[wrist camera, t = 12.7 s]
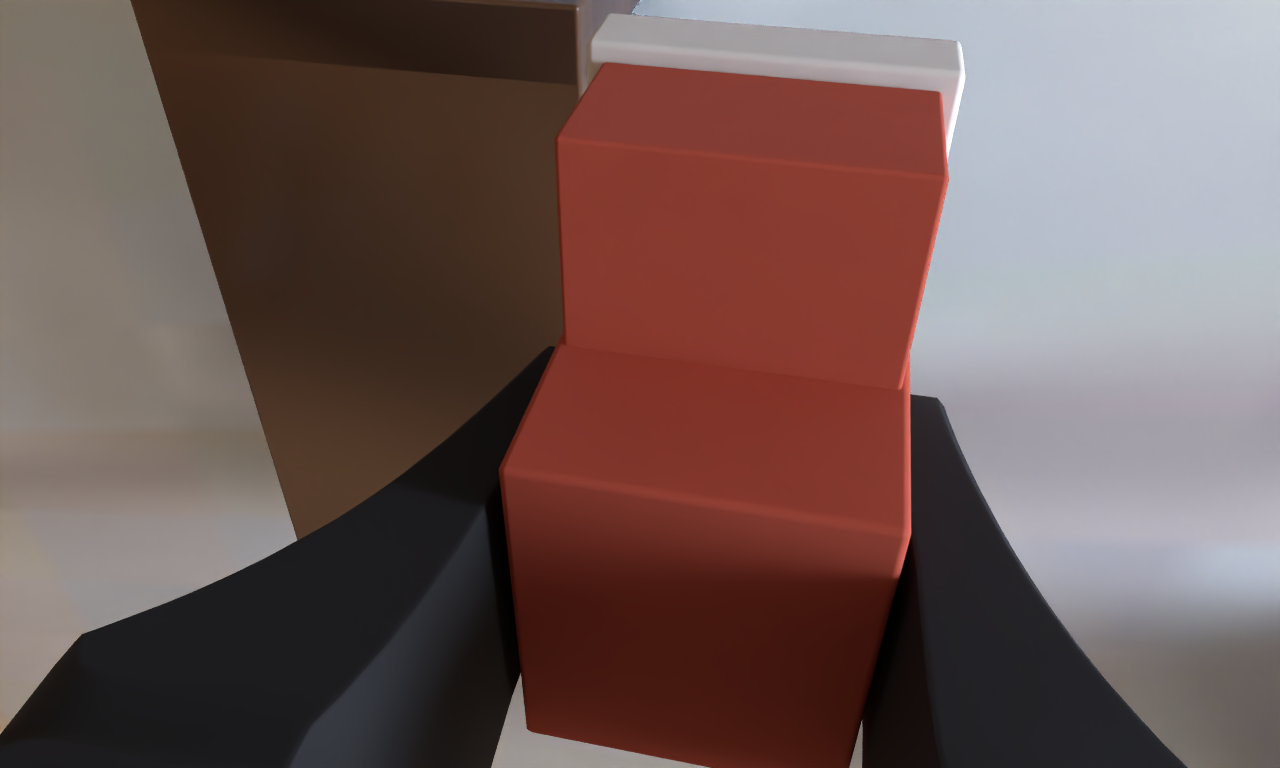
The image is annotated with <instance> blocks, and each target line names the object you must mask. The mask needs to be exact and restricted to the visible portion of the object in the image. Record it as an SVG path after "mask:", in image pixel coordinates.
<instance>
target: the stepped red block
mask: <svg viewBox="0 0 1280 768" xmlns="http://www.w3.org/2000/svg"><path fill="white" fill-rule="evenodd" d="M964 82H965V70H964V63H963V55H962V48H961V43H959V42H957V41H952V40H939V39H927V38H914V37H902V36H889V35H877V34H864V33H852V32H839V31H827V30H814V29H802V28H789V27H777V26H764V25H752V24H739V23H727V22H714V21H702V20H689V19H677V18H664V17H652V16H639V15H627V14H614V13H611V14H608V15H606V16H605V18H604V19H603V20H602V22H601V23H600V25H599V26H598V27H597V29H596V30H595V32H594V33H593V34H592V36H591V37H590V39H589V40H588V43H587V89H586V90H585V92H584V94H583V95H582V97H581V98H580V100H579V101H578V103H577V104H576V106H575V107H574V109H573V111H572V112H571V114H570V115H569V117H568V118H567V120H566V121H565V123H564V124H563V126H562V127H561V129H560V131H559V132H558V134H557V135H556V137H555V139H554V146H555V167H556V188H557V209H558V231H559V252H560V273H561V294H562V315H563V332H562V334H561V337H560V339H559V341H558V343H557V345H556V347H555V349H554V352H553V354H552V356H551V358H550V360H549V362H548V364H547V367H546V369H545V371H544V373H543V375H542V377H541V379H540V382H539V384H538V386H537V388H536V390H535V392H534V394H533V397H532V399H531V401H530V403H529V405H528V407H527V409H526V412H525V414H524V416H523V418H522V420H521V422H520V425H519V427H518V429H517V431H516V433H515V435H514V437H513V440H512V442H511V444H510V446H509V448H508V450H507V452H506V455H505V457H504V459H503V461H502V463H501V465H500V467H499V477H500V486H501V495H502V504H503V513H504V523H505V532H506V541H507V550H508V559H509V568H510V578H511V587H512V596H513V605H514V614H515V623H516V633H517V642H518V651H519V660H520V669H521V678H522V687H523V697H524V706H525V715H526V724H527V729H528V730H529V731H531V732H534V733H539V734H544V735H549V736H554V737H559V738H564V739H569V740H574V741H579V742H584V743H589V744H594V745H599V746H605V747H610V748H615V749H620V750H625V751H630V752H635V753H640V754H645V755H650V756H655V757H660V758H665V759H670V760H675V761H680V762H685V763H690V764H696V765H701V766H706V767H711V768H849V766H850V763H851V759H852V755H853V751H854V748H855V744H856V740H857V736H858V732H859V729H860V725H861V721H862V717H863V714H864V710H865V706H866V702H867V699H868V695H869V691H870V687H871V683H872V680H873V676H874V672H875V668H876V665H877V661H878V657H879V653H880V649H881V646H882V642H883V638H884V634H885V631H886V627H887V623H888V619H889V616H890V612H891V608H892V604H893V600H894V597H895V593H896V589H897V585H898V582H899V578H900V574H901V570H902V567H903V563H904V559H905V555H906V551H907V548H908V544H909V540H910V536H911V435H910V349H911V345H912V341H913V336H914V332H915V327H916V323H917V318H918V314H919V310H920V305H921V301H922V296H923V292H924V287H925V283H926V279H927V274H928V270H929V265H930V261H931V257H932V252H933V248H934V243H935V239H936V234H937V230H938V226H939V221H940V217H941V212H942V208H943V203H944V199H945V195H946V190H947V186H948V181H949V177H948V164H947V158H948V154H949V149H950V145H951V140H952V136H953V131H954V127H955V122H956V118H957V113H958V109H959V104H960V100H961V95H962V91H963V86H964Z"/></svg>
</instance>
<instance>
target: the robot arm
mask: <svg viewBox="0 0 1280 768" xmlns="http://www.w3.org/2000/svg"><path fill="white" fill-rule="evenodd" d="M554 349H555V347H554V346H549V347H547V348H546V349H544V350H543V351H542V352H541V353H540V354H539V355H538V356H536V357H535V358H534V359H533V360H532V361H531V362H530V363H529V364H528V365H527V366H526V367H525V368H524V369H523V370H522V371H521V372H520V373H519V374H518V375H517V376H516V377H515V378H513V379H512V380H511V381H510V382H509V383H508V384H507V385H506V386H505V387H504V388H503V389H502V390H501V391H500V392H499V393H497V394H496V395H495V396H494V397H493V398H492V399H491V400H490V401H489V402H488V403H487V404H486V405H484V406H483V407H482V408H481V409H480V410H479V411H478V412H477V413H475V414H474V415H473V416H472V417H471V418H470V419H469V420H467V421H466V422H465V423H464V424H463V425H462V426H461V427H459V428H458V429H457V430H456V431H455V432H454V433H453V434H451V435H450V436H449V437H448V438H447V439H445V440H444V441H443V442H442V443H441V444H439V445H438V446H437V447H436V448H434V449H433V450H432V451H430V452H429V453H428V454H427V455H425V456H424V457H423V458H422V459H420V460H419V461H418V462H416V463H415V464H414V465H413V466H411V467H410V468H409V469H408V470H406V471H405V472H404V473H402V474H401V475H400V476H398V477H397V478H396V479H394V480H393V481H392V482H390V483H389V484H387V485H386V486H385V487H383V488H382V489H380V490H379V491H378V492H376V493H375V494H373V495H372V496H370V497H369V498H367V499H366V500H364V501H363V502H361V503H360V504H358V505H357V506H355V507H354V508H352V509H351V510H349V511H348V512H346V513H345V514H343V515H341V516H340V517H338V518H337V519H335V520H333V521H332V522H330V523H328V524H326V525H325V526H323V527H321V528H319V529H317V530H316V531H314V532H312V533H310V534H308V535H307V536H305V537H303V538H301V539H299V540H297V541H296V542H294V543H292V544H290V545H288V546H287V547H285V548H283V549H281V550H279V551H278V552H276V553H274V554H272V555H270V556H269V557H267V558H265V559H263V560H261V561H259V562H257V563H254V564H252V565H250V566H248V567H246V568H244V569H242V570H240V571H238V572H236V573H234V574H232V575H230V576H227V577H225V578H223V579H221V580H219V581H216V582H214V583H212V584H210V585H207V586H205V587H203V588H201V589H198V590H196V591H194V592H192V593H189V594H187V595H184V596H182V597H180V598H177V599H175V600H172V601H170V602H167V603H165V604H162V605H160V606H157V607H154V608H152V609H149V610H146V611H144V612H141V613H138V614H136V615H133V616H130V617H128V618H125V619H122V620H120V621H117V622H115V623H112V624H109V625H107V626H104V627H101V628H98V629H96V630H93V631H90V632H87V633H84V634H82V635H81V636H80V637H79V638H78V639H77V640H76V641H75V642H74V644H73V645H72V646H71V647H70V648H69V649H68V650H67V652H66V653H65V654H64V655H63V656H62V657H61V659H60V660H59V661H58V662H57V663H56V664H55V666H54V667H53V668H52V669H51V671H50V672H49V673H48V674H47V676H46V677H45V678H44V680H43V681H42V682H41V683H40V685H39V686H38V687H37V689H36V690H35V691H34V692H33V694H32V695H31V696H30V697H29V699H28V700H27V701H26V703H25V704H24V705H23V706H22V708H21V709H20V710H19V711H18V713H17V714H16V715H15V717H14V718H13V719H12V720H11V722H10V723H9V724H8V725H7V727H6V728H5V729H4V731H3V732H2V733H1V734H0V768H491V766H492V762H493V759H494V755H495V752H496V749H497V745H498V742H499V739H500V735H501V732H502V728H503V725H504V722H505V718H506V715H507V712H508V708H509V705H510V702H511V698H512V695H513V692H514V690H515V687H516V684H517V681H518V679H519V676H520V673H521V669H520V660H519V651H518V642H517V633H516V623H515V614H514V605H513V596H512V587H511V578H510V568H509V559H508V550H507V541H506V532H505V523H504V513H503V504H502V495H501V486H500V477H499V467H500V465H501V463H502V461H503V459H504V457H505V455H506V452H507V450H508V448H509V446H510V444H511V442H512V440H513V437H514V435H515V433H516V431H517V429H518V427H519V425H520V422H521V420H522V418H523V416H524V414H525V412H526V409H527V407H528V405H529V403H530V401H531V399H532V397H533V394H534V392H535V390H536V388H537V386H538V384H539V382H540V379H541V377H542V375H543V373H544V371H545V369H546V367H547V364H548V362H549V360H550V358H551V356H552V354H553V352H554ZM910 435H911V536H910V540H909V544H908V548H907V551H906V555H905V559H904V563H903V567H902V570H901V574H900V578H899V582H898V585H897V589H896V593H895V597H894V600H893V604H892V608H891V612H890V616H889V619H888V623H887V627H886V631H885V634H884V638H883V642H882V646H881V649H880V653H879V657H878V661H877V665H876V668H875V672H874V676H873V680H872V683H871V687H870V691H869V695H868V699H867V702H866V706H865V710H864V714H863V717H862V728H863V742H862V768H1187V767H1186V766H1185V765H1184V764H1183V763H1182V762H1181V761H1180V760H1179V759H1178V758H1177V757H1176V756H1175V755H1174V754H1173V753H1172V752H1171V751H1170V750H1169V749H1168V748H1167V747H1166V746H1165V745H1164V744H1163V743H1162V742H1161V741H1160V739H1159V738H1158V737H1157V736H1156V735H1155V734H1154V733H1153V732H1152V731H1151V730H1150V728H1149V727H1148V726H1147V725H1146V724H1145V723H1144V722H1143V721H1142V720H1141V718H1140V717H1139V716H1138V715H1137V714H1136V713H1135V712H1134V711H1133V710H1132V709H1131V707H1130V706H1129V705H1128V704H1127V703H1126V702H1125V701H1124V700H1123V699H1122V697H1121V696H1120V695H1119V694H1118V693H1117V692H1116V691H1115V690H1114V689H1113V687H1112V686H1111V685H1110V684H1109V683H1108V682H1107V681H1106V679H1105V678H1104V677H1103V676H1102V674H1101V673H1100V672H1099V671H1098V669H1097V668H1096V667H1095V666H1094V664H1093V663H1092V662H1091V661H1090V659H1089V658H1088V657H1087V656H1086V654H1085V653H1084V652H1083V651H1082V649H1081V648H1080V647H1079V646H1078V644H1077V643H1076V642H1075V640H1074V639H1073V638H1072V636H1071V635H1070V634H1069V632H1068V631H1067V630H1066V628H1065V627H1064V626H1063V624H1062V623H1061V621H1060V620H1059V619H1058V617H1057V616H1056V615H1055V613H1054V612H1053V610H1052V609H1051V608H1050V606H1049V605H1048V603H1047V602H1046V600H1045V599H1044V597H1043V596H1042V594H1041V593H1040V591H1039V590H1038V588H1037V587H1036V585H1035V584H1034V582H1033V581H1032V579H1031V578H1030V576H1029V574H1028V573H1027V571H1026V570H1025V568H1024V567H1023V565H1022V563H1021V562H1020V560H1019V559H1018V557H1017V555H1016V554H1015V552H1014V550H1013V549H1012V547H1011V545H1010V544H1009V542H1008V540H1007V538H1006V537H1005V535H1004V533H1003V532H1002V530H1001V528H1000V526H999V524H998V522H997V521H996V519H995V517H994V515H993V513H992V511H991V509H990V508H989V506H988V504H987V502H986V500H985V498H984V496H983V495H982V493H981V491H980V489H979V487H978V485H977V483H976V481H975V479H974V477H973V475H972V473H971V470H970V468H969V466H968V464H967V462H966V460H965V457H964V455H963V453H962V451H961V449H960V446H959V444H958V442H957V439H956V437H955V434H954V432H953V430H952V427H951V424H950V422H949V419H948V417H947V414H946V411H945V408H944V406H943V405H942V403H941V402H940V401H939V400H938V398H934V397H926V396H919V395H911V394H910Z"/></svg>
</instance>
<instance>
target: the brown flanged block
mask: <svg viewBox="0 0 1280 768" xmlns="http://www.w3.org/2000/svg"><path fill="white" fill-rule="evenodd" d="M130 1H131V4H132V7H133V10H134V14H135V17H136V20H137V23H138V27H139V30H140V33H141V36H142V40H143V43H144V46H145V49H146V52H147V56H148V59H149V62H150V65H151V69H152V72H153V75H154V78H155V82H156V85H157V88H158V91H159V94H160V98H161V101H162V104H163V107H164V111H165V114H166V117H167V120H168V124H169V127H170V130H171V133H172V136H173V140H174V143H175V146H176V149H177V153H178V156H179V159H180V162H181V166H182V169H183V172H184V175H185V178H186V182H187V185H188V188H189V191H190V195H191V198H192V201H193V204H194V208H195V211H196V214H197V217H198V220H199V224H200V227H201V230H202V233H203V237H204V240H205V243H206V246H207V250H208V253H209V256H210V259H211V262H212V266H213V269H214V272H215V275H216V279H217V282H218V285H219V288H220V292H221V295H222V298H223V301H224V304H225V308H226V311H227V314H228V317H229V321H230V324H231V327H232V330H233V334H234V337H235V340H236V343H237V346H238V350H239V353H240V356H241V359H242V363H243V366H244V369H245V372H246V376H247V379H248V382H249V385H250V388H251V392H252V395H253V398H254V401H255V405H256V408H257V411H258V414H259V417H260V421H261V424H262V427H263V430H264V434H265V437H266V440H267V443H268V447H269V450H270V453H271V456H272V459H273V463H274V466H275V469H276V472H277V476H278V479H279V482H280V485H281V489H282V492H283V495H284V498H285V501H286V505H287V508H288V511H289V514H290V518H291V521H292V524H293V527H294V531H295V534H296V537H297V540H299V539H301V538H303V537H305V536H307V535H308V534H310V533H312V532H314V531H316V530H317V529H319V528H321V527H323V526H325V525H326V524H328V523H330V522H332V521H333V520H335V519H337V518H338V517H340V516H341V515H343V514H345V513H346V512H348V511H349V510H351V509H352V508H354V507H355V506H357V505H358V504H360V503H361V502H363V501H364V500H366V499H367V498H369V497H370V496H372V495H373V494H375V493H376V492H378V491H379V490H380V489H382V488H383V487H385V486H386V485H387V484H389V483H390V482H392V481H393V480H394V479H396V478H397V477H398V476H400V475H401V474H402V473H404V472H405V471H406V470H408V469H409V468H410V467H411V466H413V465H414V464H415V463H416V462H418V461H419V460H420V459H422V458H423V457H424V456H425V455H427V454H428V453H429V452H430V451H432V450H433V449H434V448H436V447H437V446H438V445H439V444H441V443H442V442H443V441H444V440H445V439H447V438H448V437H449V436H450V435H451V434H453V433H454V432H455V431H456V430H457V429H458V428H459V427H461V426H462V425H463V424H464V423H465V422H466V421H467V420H469V419H470V418H471V417H472V416H473V415H474V414H475V413H477V412H478V411H479V410H480V409H481V408H482V407H483V406H484V405H486V404H487V403H488V402H489V401H490V400H491V399H492V398H493V397H494V396H495V395H496V394H497V393H499V392H500V391H501V390H502V389H503V388H504V387H505V386H506V385H507V384H508V383H509V382H510V381H511V380H512V379H513V378H515V377H516V376H517V375H518V374H519V373H520V372H521V371H522V370H523V369H524V368H525V367H526V366H527V365H528V364H529V363H530V362H531V361H532V360H533V359H534V358H535V357H536V356H538V355H539V354H540V353H541V352H542V351H543V350H544V349H546V348H547V347H549V346H554V347H556V345H557V343H558V341H559V339H560V337H561V334H562V332H563V315H562V294H561V273H560V252H559V231H558V209H557V188H556V167H555V146H554V139H555V137H556V135H557V134H558V132H559V131H560V129H561V127H562V126H563V124H564V123H565V121H566V120H567V118H568V117H569V115H570V114H571V112H572V111H573V109H574V107H575V106H576V104H577V103H578V101H579V100H580V98H581V97H582V95H583V94H584V92H585V90H586V89H587V43H588V40H589V39H590V37H591V36H592V34H593V33H594V32H595V30H596V29H597V27H598V26H599V25H600V23H601V22H602V20H603V19H604V18H605V16H606V15H608V14H611V13H614V14H627V15H630V14H631V12H632V11H633V9H634V8H635V6H636V5H637V3H638V2H639V0H130Z"/></svg>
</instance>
